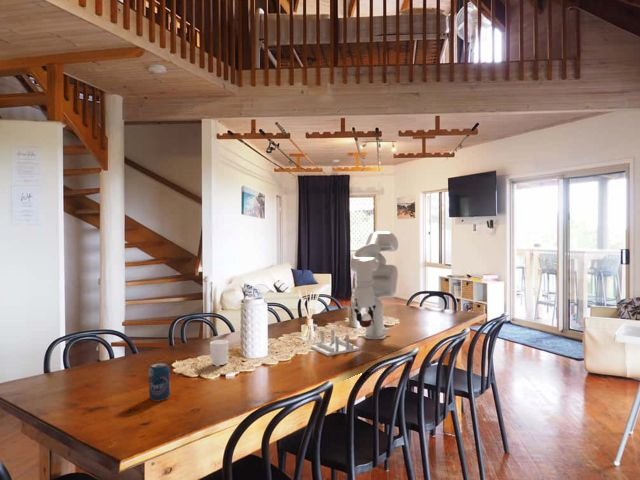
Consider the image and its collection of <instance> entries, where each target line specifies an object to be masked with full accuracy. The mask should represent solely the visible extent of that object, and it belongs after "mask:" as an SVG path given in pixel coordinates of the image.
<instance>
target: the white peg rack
mask: <svg viewBox="0 0 640 480" xmlns="http://www.w3.org/2000/svg"><path fill="white" fill-rule="evenodd" d="M330 333H331V334H330V337H331V338H330V339H331V340H330V341H331V342H326V343H325V330H323V329H322V330H321V331H320V341H319V340H317V341H316V344H314V345H312V344H311V345H310V348H311V349H312V350H314V351H316V352H319V353H321V354H323V355H325V356H326V357H329V356H334V355H340V354H345V353H351V352H356V351H360V347H359V346H356V345H354V344H352V343H350V334H349V333H348V334H347V333H346V334H345V340H342V339H340V337H339V336H338V335H335V329H334V328H331V329H330Z"/></svg>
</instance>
